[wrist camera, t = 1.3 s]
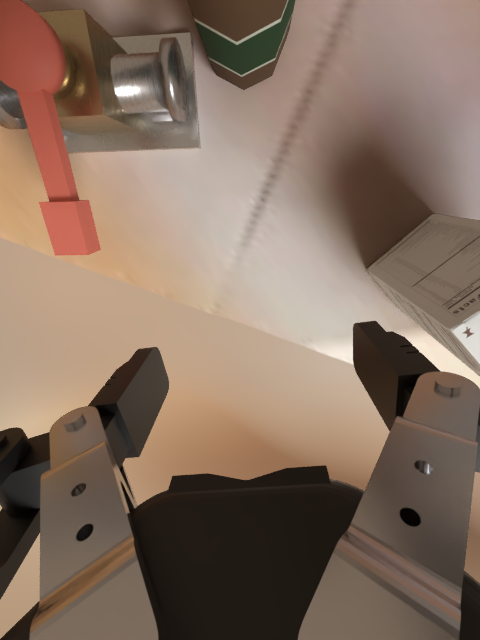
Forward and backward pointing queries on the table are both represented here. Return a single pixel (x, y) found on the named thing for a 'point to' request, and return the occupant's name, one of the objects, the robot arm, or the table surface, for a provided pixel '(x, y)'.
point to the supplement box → (438, 282)
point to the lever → (45, 121)
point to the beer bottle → (243, 36)
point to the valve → (118, 89)
